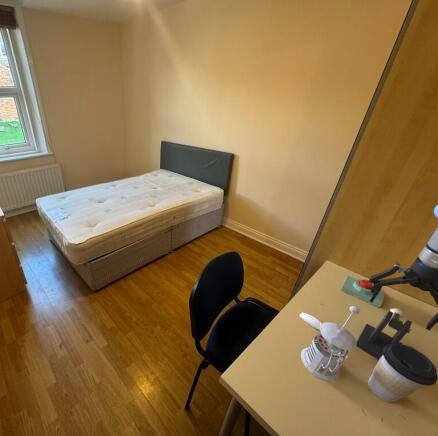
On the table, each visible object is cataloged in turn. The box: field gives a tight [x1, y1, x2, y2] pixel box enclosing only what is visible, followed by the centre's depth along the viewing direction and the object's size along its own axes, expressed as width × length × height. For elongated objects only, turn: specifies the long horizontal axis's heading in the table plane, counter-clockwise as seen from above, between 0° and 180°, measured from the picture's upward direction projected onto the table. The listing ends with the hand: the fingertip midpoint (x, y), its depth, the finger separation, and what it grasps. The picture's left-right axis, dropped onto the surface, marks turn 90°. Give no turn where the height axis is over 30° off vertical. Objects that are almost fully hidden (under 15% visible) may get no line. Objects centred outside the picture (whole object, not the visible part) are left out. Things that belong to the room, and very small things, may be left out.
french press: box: [300, 305, 360, 382], centre depth 62 cm, size 10×12×25 cm
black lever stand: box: [356, 310, 413, 361], centre depth 70 cm, size 11×9×13 cm
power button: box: [360, 279, 374, 289], centre depth 90 cm, size 4×4×2 cm
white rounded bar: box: [299, 312, 324, 331], centre depth 80 cm, size 3×8×3 cm, turn 36°
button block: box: [340, 275, 386, 309], centre depth 91 cm, size 12×9×4 cm
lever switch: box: [387, 307, 405, 332], centre depth 72 cm, size 15×3×3 cm, turn 128°
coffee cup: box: [367, 343, 438, 404], centre depth 59 cm, size 9×9×15 cm
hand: (398, 312), depth 76 cm, fingers open, 13 cm apart
